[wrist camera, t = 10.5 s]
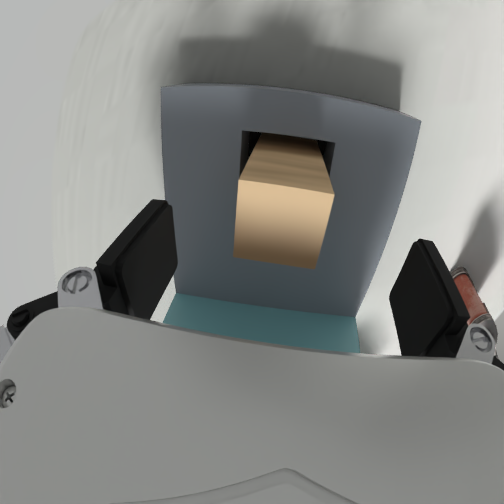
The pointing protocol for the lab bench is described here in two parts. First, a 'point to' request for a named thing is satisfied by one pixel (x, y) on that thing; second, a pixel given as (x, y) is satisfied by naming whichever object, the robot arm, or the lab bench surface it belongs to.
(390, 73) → the lab bench surface
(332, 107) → the socket block
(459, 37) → the lab bench surface
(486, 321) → the lighter
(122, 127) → the lab bench surface
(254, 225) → the peg
